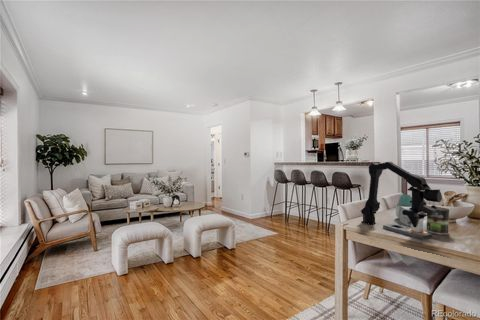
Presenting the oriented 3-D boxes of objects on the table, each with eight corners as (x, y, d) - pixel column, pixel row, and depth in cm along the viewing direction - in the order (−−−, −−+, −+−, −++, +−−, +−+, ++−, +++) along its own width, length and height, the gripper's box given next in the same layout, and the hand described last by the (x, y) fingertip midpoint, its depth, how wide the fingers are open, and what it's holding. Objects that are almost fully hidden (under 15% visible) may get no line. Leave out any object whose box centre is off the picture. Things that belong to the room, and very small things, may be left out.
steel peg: (411, 231, 138) (411, 217, 137) (415, 230, 139) (415, 216, 139) (418, 233, 134) (419, 219, 134) (422, 232, 136) (423, 218, 136)
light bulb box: (418, 226, 153) (419, 209, 153) (406, 226, 155) (407, 209, 155) (410, 222, 164) (410, 206, 164) (399, 221, 165) (399, 206, 165)
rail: (383, 228, 149) (383, 224, 149) (393, 226, 154) (393, 222, 154) (422, 239, 130) (422, 235, 129) (433, 237, 134) (433, 232, 134)
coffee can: (446, 236, 136) (446, 211, 136) (423, 231, 144) (424, 207, 144) (450, 232, 142) (451, 208, 142) (429, 228, 150) (429, 205, 150)
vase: (398, 216, 179) (398, 192, 179) (417, 219, 171) (417, 194, 170) (393, 219, 171) (393, 194, 171) (412, 222, 163) (413, 196, 162)
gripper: (424, 203, 125) (423, 233, 125) (443, 200, 133) (442, 228, 133) (401, 199, 135) (401, 227, 135) (421, 197, 143) (420, 223, 143)
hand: (417, 226), depth 137 cm, fingers closed on steel peg, 4 cm apart
